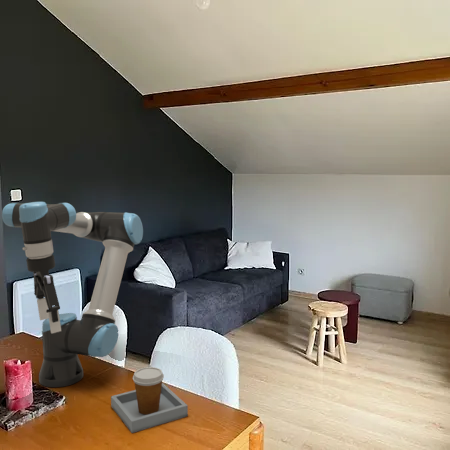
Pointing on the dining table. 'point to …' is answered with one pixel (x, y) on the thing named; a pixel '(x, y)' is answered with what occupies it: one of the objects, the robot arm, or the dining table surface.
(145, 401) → the disposable coffee cup
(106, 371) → the dining table surface
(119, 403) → the tray
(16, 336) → the dining table surface
